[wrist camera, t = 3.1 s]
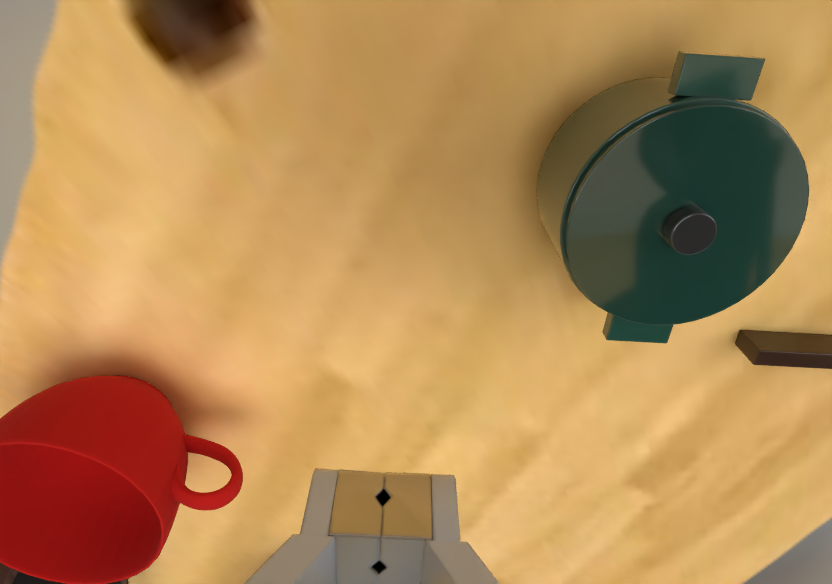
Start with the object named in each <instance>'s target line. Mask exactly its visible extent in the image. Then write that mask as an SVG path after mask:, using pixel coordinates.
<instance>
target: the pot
mask: <svg viewBox="0 0 832 584" xmlns="http://www.w3.org/2000/svg"><path fill="white" fill-rule="evenodd" d="M764 62H765V59H764V58H760V57H755V56H741V55H727V54H712V53H698V52H684V51H679V52H678V55H677V59H676V63H675V66H674V70H673V74H672V77H671V78H665V77H650V78H643V79H636V80H632V81H629V82H625V83H621V84H619V85H617V86H614V87H612V88H609V89H607V90H605V91H603V92H602V93H600V94H598V95H596V96H594V97H593V98H592V99H590V100H589V101H587V102H586V103H585V104H583V105H582V106H581V107H580V108H579V109H577V110H576V111H575V112H574V113H573V114H572V115H571V116H570V117H569V118H568V119H567V120H566V122H565V123H564V124H563V125H562V126H561V127H560V129H559V130H558V132H557V133H556V135H555V136H554V138H553V139H552V141H551V143H550V145H549V147H548V149H547V150H546V153H545V155H544V158H543V161H542V163H541V167H540V171H539V175H538V183H537V204H538V210H539V214H540V217H541V220H542V223H543V226H544V228H545V230H546V232H547V234H548V236H549V237H550V239H551V241H552V243H553V245H554V247H555V249H556V251H557V253H558V255H559V257H560V259H561V260H562V262H563V264H564V266H565V268H566V270H567V272H568V274H569V276H570V278H571V280H572V281H573V282H574V284H575V285H576V287H577V288H578V289H579V291H580V292H581V293H582V294H583V295H584V296H585V297H586V298H587V299H588V300H590V301H591V302H592V303H594V304H595V305H596V306H598V307H600V308H601V309H603V310H605V311H607V312H608V313H607V317H606V321H605V324H604V328H603V334H604V336H605V338H606V340H614V341H633V342H651V343H667V342H668V339H669V336H670V333H671V330H672V327H673V324H681V323H686V322H691V321H695V320H699V319H702V318H705V317H708V316H711V315H713V314H715V313H718V312H720V311H722V310H725V309H726V308H728V307H730V306H732V305H734V304H736V303H737V302H739V301H740V300H742V299H743V298H745V297H746V296H748V295H749V294H751V293H752V292H753V291H754V290H756V289H757V288H758V287H759V286H760V285H762V284H763V283H764V282H765V281H766V280H767V279H768V278H769V277H770V276H771V275H772V274H773V273H774V272H775V271H776V269H777V268H778V267H779V266H780V264H781V263H782V262H783V261H784V259H785V258H786V256H787V255H788V253H789V252H790V250H791V249H792V247H793V245H794V243H795V241H796V239H797V237H798V235H799V233H800V231H801V228H802V225H803V222H804V220H805V215H806V211H807V206H808V196H809V183H808V174H807V170H806V166H805V162H804V160H803V157H802V155H801V153H800V150H799V148H798V147H797V145H796V144H795V142H794V141H793V139H792V138H791V136H790V135H789V133H788V132H787V130H786V129H785V128H784V127H783V126H782V125H781V124H780V123H779V122H778V121H777V120H776V119H774V118H773V117H772V116H770V115H769V114H768V113H766V112H765V111H763V110H761V109H759V108H757V107H755V106H752V105H750V104H748V103H745V102H742V101H739V100H751V99H752V96H753V93H754V91H755V88H756V85H757V82H758V79H759V76H760V73H761V70H762V67H763V65H764Z"/></svg>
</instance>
